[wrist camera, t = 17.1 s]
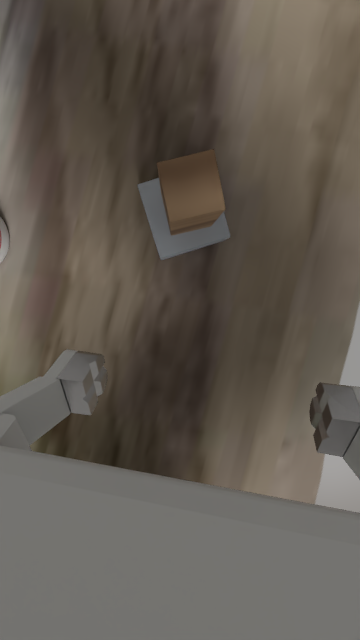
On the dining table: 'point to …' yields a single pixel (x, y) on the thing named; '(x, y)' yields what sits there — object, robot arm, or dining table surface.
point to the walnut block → (191, 191)
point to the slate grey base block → (160, 228)
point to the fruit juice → (3, 240)
